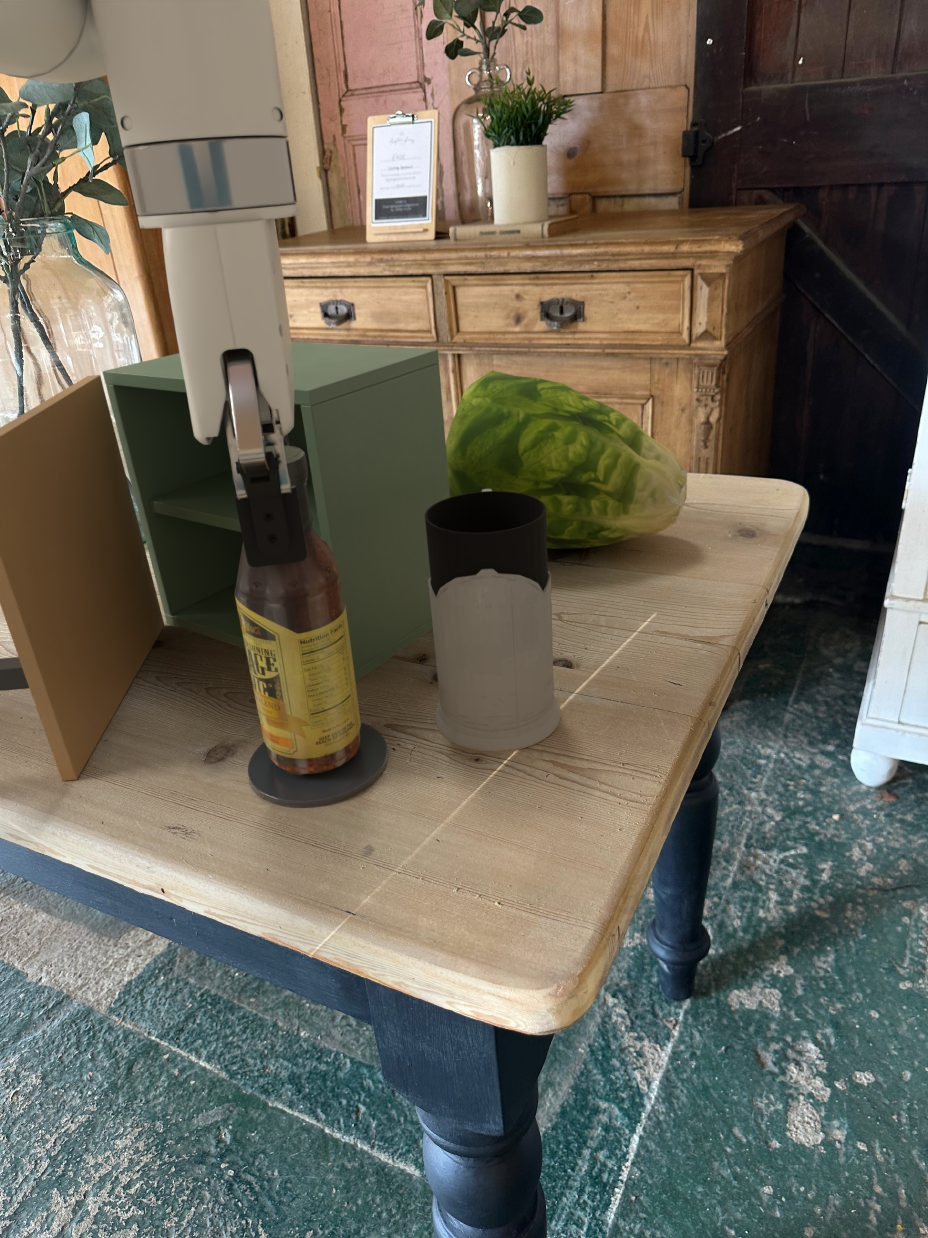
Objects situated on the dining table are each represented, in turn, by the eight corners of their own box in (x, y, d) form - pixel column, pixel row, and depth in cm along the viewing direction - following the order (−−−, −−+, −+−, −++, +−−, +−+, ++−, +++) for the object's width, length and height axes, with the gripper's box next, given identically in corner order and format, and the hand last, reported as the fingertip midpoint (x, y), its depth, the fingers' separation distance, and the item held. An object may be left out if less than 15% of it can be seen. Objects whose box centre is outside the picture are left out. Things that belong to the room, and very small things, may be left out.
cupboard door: (-36, 789, 56) (-170, 467, 46) (81, 632, 76) (4, 382, 66) (77, 780, 56) (-34, 456, 46) (164, 625, 76) (100, 374, 66)
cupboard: (353, 685, 65) (308, 390, 55) (166, 623, 76) (101, 371, 66) (459, 610, 75) (438, 349, 65) (280, 565, 86) (238, 338, 76)
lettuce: (659, 607, 86) (683, 536, 71) (436, 559, 90) (413, 482, 75) (690, 465, 91) (718, 370, 76) (477, 426, 96) (464, 328, 80)
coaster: (246, 820, 52) (244, 812, 51) (252, 736, 60) (250, 729, 59) (395, 795, 53) (394, 787, 53) (381, 716, 61) (380, 709, 60)
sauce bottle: (260, 740, 58) (200, 448, 49) (351, 716, 59) (308, 431, 51) (278, 795, 52) (213, 476, 43) (377, 767, 54) (334, 456, 45)
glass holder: (431, 755, 56) (408, 541, 49) (441, 648, 69) (425, 467, 62) (566, 749, 56) (561, 532, 49) (551, 643, 68) (546, 459, 62)
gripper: (157, 194, 48) (222, 506, 56) (99, 195, 33) (198, 620, 41) (293, 183, 49) (337, 492, 57) (296, 181, 34) (354, 598, 42)
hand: (278, 542), depth 49 cm, fingers closed on sauce bottle, 4 cm apart
